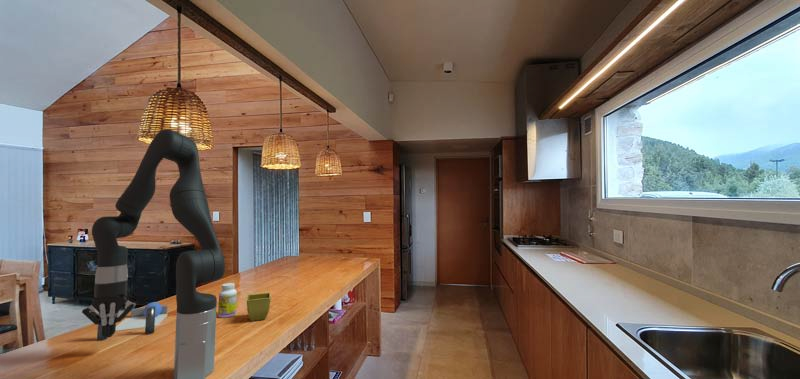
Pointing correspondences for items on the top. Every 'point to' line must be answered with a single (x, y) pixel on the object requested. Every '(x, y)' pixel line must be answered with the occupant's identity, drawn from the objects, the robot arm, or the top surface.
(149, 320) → the right post
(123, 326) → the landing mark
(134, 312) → the stopper wall
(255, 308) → the flower pot
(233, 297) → the supplement bottle
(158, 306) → the ball
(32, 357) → the top surface
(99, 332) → the left post
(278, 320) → the top surface
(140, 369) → the top surface
